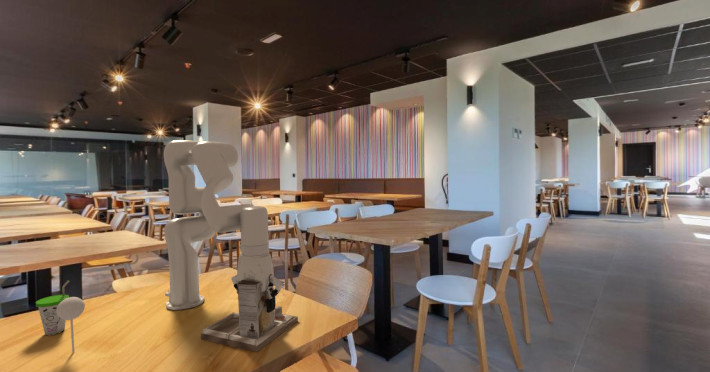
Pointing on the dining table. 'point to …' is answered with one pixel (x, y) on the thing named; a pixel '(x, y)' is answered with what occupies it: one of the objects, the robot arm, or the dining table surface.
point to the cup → (52, 312)
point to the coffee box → (253, 310)
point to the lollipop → (70, 311)
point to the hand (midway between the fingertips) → (257, 308)
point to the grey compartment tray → (229, 335)
